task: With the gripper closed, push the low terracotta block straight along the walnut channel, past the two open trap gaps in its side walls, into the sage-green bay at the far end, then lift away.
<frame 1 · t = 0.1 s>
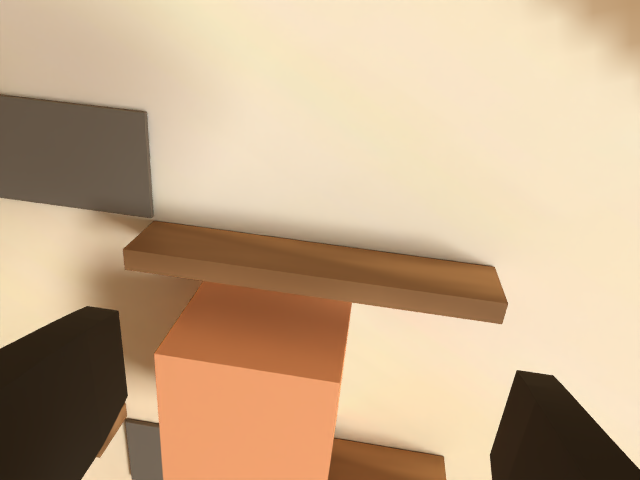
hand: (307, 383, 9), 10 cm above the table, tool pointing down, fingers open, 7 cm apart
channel: (183, 335, 22), on the table
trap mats: (183, 335, 22), on the table
block: (275, 347, 22), on the table
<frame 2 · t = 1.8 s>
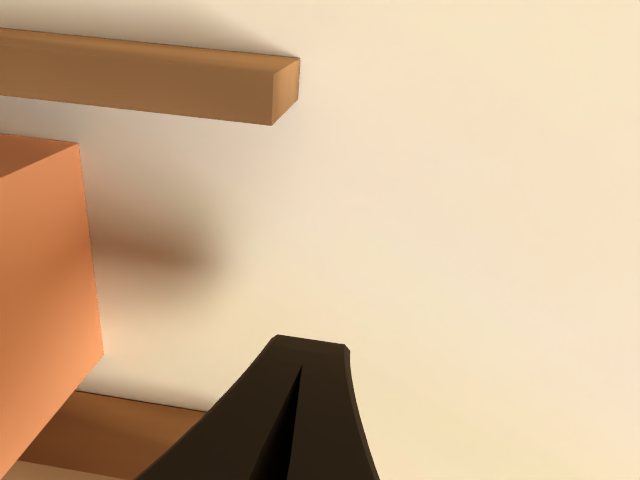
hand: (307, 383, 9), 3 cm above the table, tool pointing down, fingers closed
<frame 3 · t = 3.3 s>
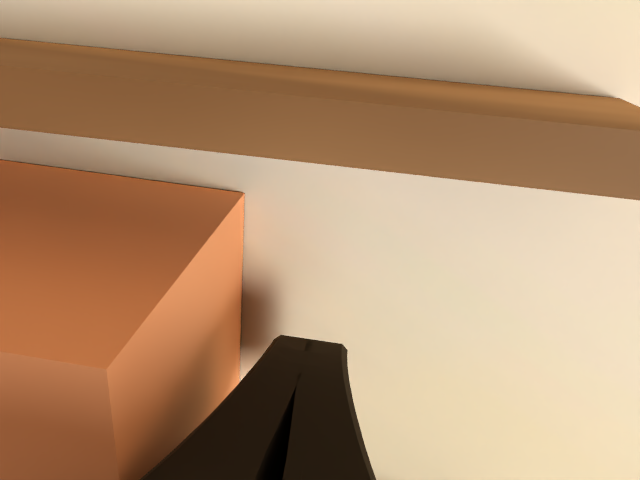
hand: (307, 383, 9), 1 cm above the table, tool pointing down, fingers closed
block: (104, 305, 11), on the table, touching gripper
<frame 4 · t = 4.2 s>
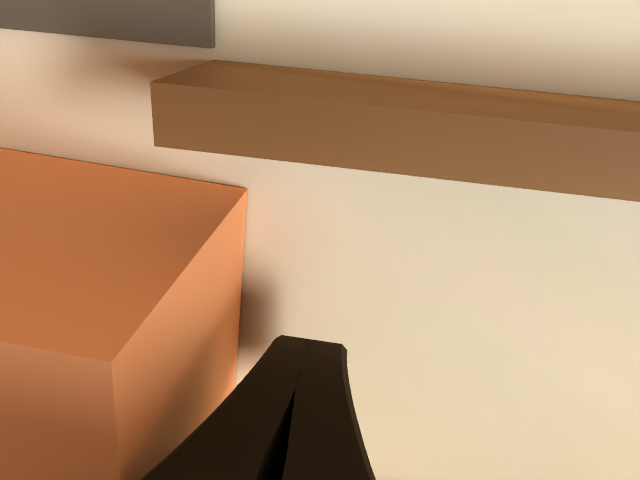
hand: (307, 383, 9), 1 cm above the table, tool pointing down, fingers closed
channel: (264, 330, 11), on the table
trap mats: (264, 330, 11), on the table
block: (102, 297, 11), on the table, touching gripper
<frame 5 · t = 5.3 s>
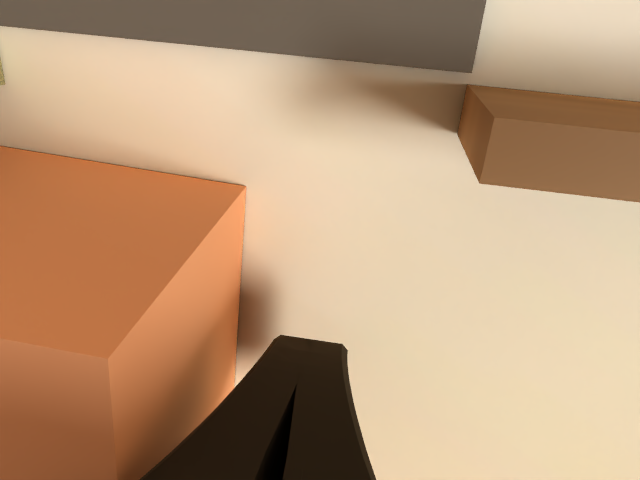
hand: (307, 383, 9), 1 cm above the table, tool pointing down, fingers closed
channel: (463, 359, 10), on the table
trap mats: (463, 359, 10), on the table
block: (101, 295, 11), on the table, touching gripper
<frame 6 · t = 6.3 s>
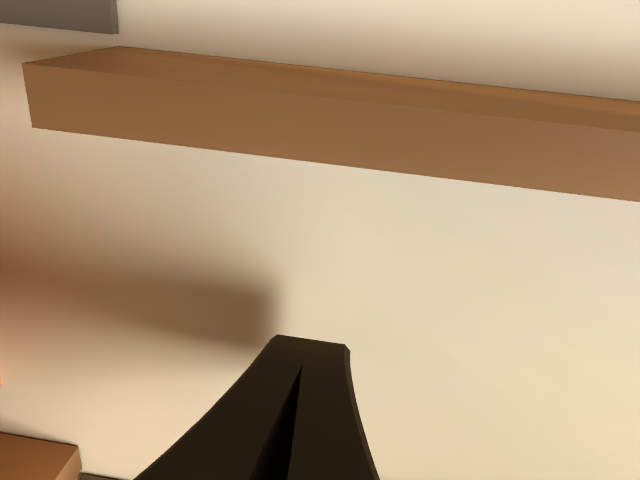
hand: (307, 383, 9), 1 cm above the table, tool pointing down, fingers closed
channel: (186, 317, 11), on the table
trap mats: (186, 317, 11), on the table
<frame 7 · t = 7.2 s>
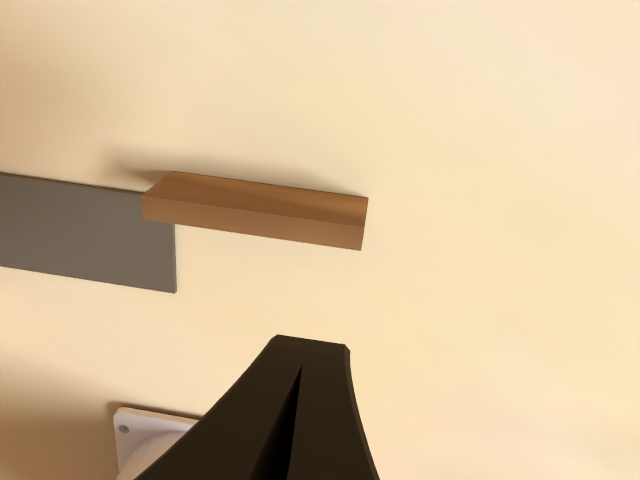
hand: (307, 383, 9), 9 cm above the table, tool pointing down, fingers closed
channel: (19, 18, 17), on the table
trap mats: (19, 18, 17), on the table
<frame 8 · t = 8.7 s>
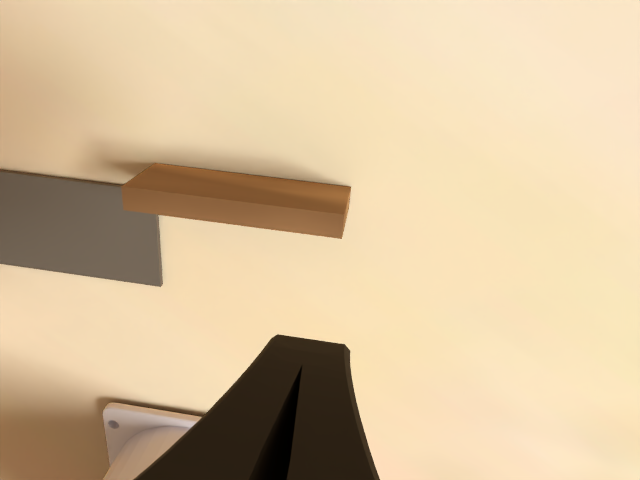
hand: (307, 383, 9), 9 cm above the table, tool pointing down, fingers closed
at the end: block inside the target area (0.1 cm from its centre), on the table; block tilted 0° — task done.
